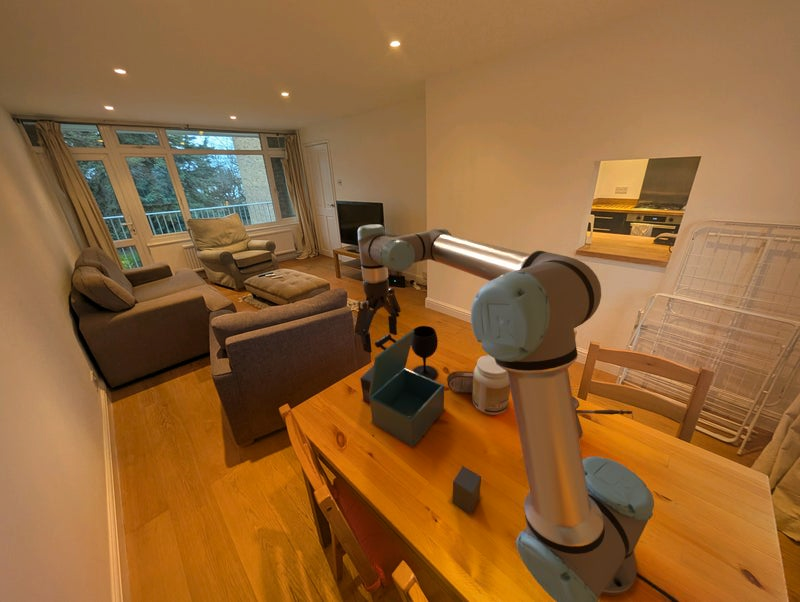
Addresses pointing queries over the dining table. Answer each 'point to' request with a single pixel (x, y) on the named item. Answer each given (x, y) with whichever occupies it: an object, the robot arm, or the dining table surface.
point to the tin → (461, 381)
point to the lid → (389, 360)
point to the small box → (366, 384)
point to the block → (466, 489)
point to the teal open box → (407, 405)
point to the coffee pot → (611, 412)
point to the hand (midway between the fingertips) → (381, 342)
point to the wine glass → (425, 349)
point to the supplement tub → (490, 386)
